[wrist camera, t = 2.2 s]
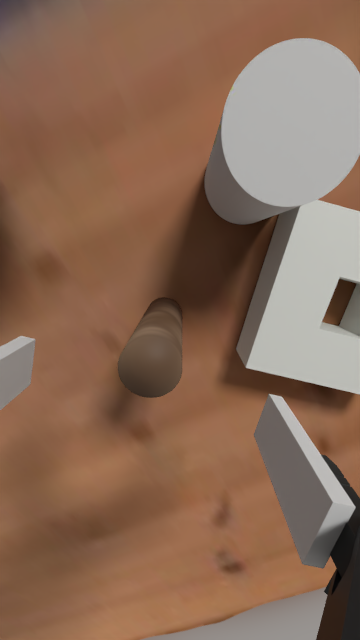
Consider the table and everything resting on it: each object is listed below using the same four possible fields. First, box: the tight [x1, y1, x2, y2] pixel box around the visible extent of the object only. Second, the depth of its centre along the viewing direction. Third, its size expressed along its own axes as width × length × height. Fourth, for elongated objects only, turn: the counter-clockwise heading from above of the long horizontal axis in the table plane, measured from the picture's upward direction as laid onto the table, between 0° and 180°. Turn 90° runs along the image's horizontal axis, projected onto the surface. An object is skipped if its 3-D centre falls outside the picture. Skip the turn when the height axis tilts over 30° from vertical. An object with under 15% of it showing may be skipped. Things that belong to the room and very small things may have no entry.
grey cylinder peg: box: [205, 38, 360, 225], centre depth 21 cm, size 8×8×12 cm
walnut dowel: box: [118, 297, 182, 398], centre depth 23 cm, size 4×4×14 cm
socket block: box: [236, 200, 360, 394], centre depth 27 cm, size 16×16×5 cm
